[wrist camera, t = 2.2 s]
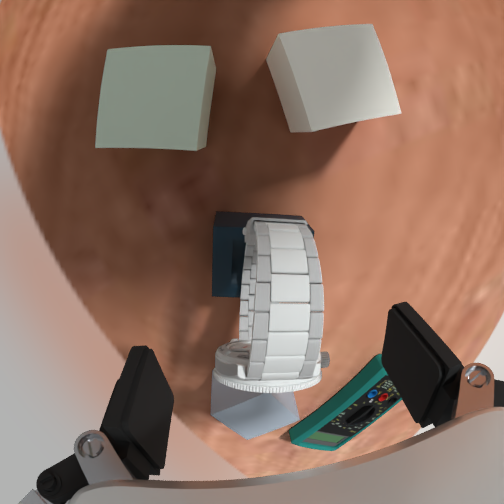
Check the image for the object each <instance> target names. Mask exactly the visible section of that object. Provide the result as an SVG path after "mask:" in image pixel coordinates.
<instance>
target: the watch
mask: <svg viewBox="0 0 504 504" xmlns="http://www.w3.org/2000/svg"><path fill="white" fill-rule="evenodd" d="M313 237H314V230H313V229H312V228H311V227H310V225H309V224H308V223H307V222H306V220H305V219H304V218H303V217H302V216H293V215H278V214H260V213H241V212H219V211H216V215H215V221H214V226H213V263H212V296H215V297H240V300H248V301H241V302H240V323H239V341H238V339H231V341H230V342H229V343H227V344H224V345H221V346H220V347H218V349H217V351H216V353H215V368H214V371H213V375H214V378H215V379H216V380H217V381H218V382H220V383H222V384H224V385H226V386H229V387H232V388H235V389H239V390H244V391H249V392H258V393H285V392H293V391H298V390H302V389H306V388H309V387H312V386H314V385H316V384H317V383H319V382H320V380H321V378H322V371H321V368H325V367H328V366H329V362H330V358H329V354H328V352H320V346H321V339H320V338H322V334H323V313H322V312H323V311H324V293H323V285H322V284H321V283H322V275H321V268H320V262H319V259H318V252H317V248H316V245H315V242H314V239H313ZM309 284H310V285H309ZM279 302H288V303H279ZM298 303H308V304H298ZM242 316H248V317H242Z"/></svg>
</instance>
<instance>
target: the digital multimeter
mask: <svg viewBox="0 0 504 504" xmlns="http://www.w3.org/2000/svg"><path fill="white" fill-rule="evenodd" d="M381 356H382V354H378V355H377V356H375V357H374V358H373V359H372V360H371V361H370V362H369V363H368V364H367V365H366V366H365V367H364V369H363V370H362V371H361V372H360V373H359V374H358V375H357V376H355V377H354V378H353V379H352V380H351V381H350V382H349V383H348V384H347V385H346V386H345V387H344V388H342V389H341V390H340V391H339V392H338V393H337V394H336V395H335V396H333V397H332V398H331V399H330V400H328V401H327V402H326V403H325V404H324V405H322V406H321V407H320V408H319V409H317V410H316V411H315V412H313V413H312V414H311V415H309V416H308V417H306V418H305V419H304V420H302V421H301V422H299V423H298V424H297V425H295V426H294V427H293V428H291V429H290V430H289V434H290V439H291V443H292V444H295V445H298V446H302V447H306V448H311V449H318V450H327V451H334V450H336V449H338V448H339V447H341V446H342V445H344V444H345V443H346V442H348V441H349V440H351V439H352V438H353V437H355V436H356V435H357V434H359V433H360V432H362V431H363V430H364V429H366V428H367V427H368V426H369V425H371V424H372V423H373V422H375V421H376V420H377V419H378V418H380V417H381V416H382V415H384V414H385V413H386V412H387V411H389V410H390V409H391V408H392V407H394V406H395V405H396V404H397V403H398V402H400V401H401V400H402V398H401V396H400V395H399V393H398V391H397V389H396V388H395V386H394V384H393V383H392V381H391V379H390V377H389V376H388V374H387V372H386V371H385V369H384V367H383V365H382V362H381Z"/></svg>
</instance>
